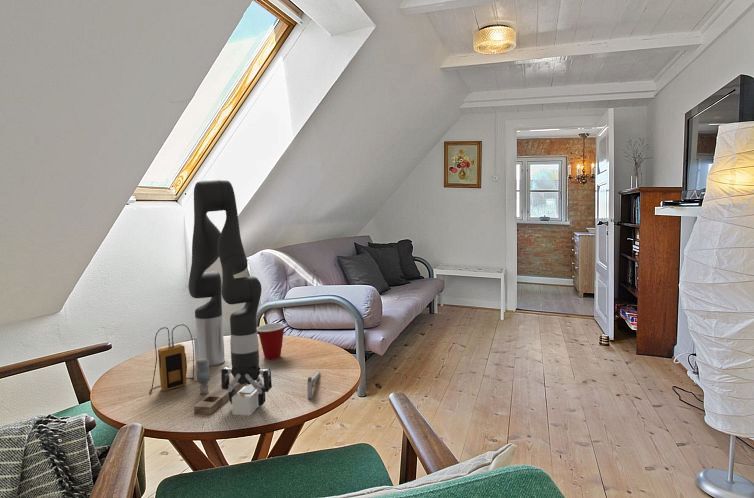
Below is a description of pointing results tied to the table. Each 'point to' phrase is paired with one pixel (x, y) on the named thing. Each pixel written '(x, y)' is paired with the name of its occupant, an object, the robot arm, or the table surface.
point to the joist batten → (214, 399)
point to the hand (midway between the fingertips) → (247, 404)
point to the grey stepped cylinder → (203, 375)
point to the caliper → (312, 383)
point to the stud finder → (245, 401)
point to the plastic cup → (271, 339)
